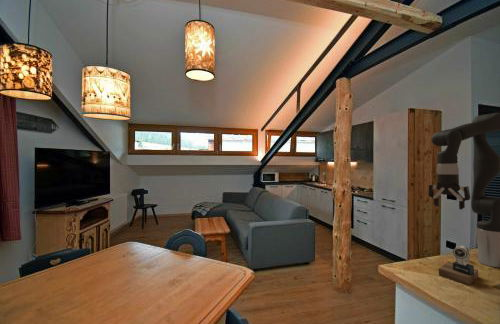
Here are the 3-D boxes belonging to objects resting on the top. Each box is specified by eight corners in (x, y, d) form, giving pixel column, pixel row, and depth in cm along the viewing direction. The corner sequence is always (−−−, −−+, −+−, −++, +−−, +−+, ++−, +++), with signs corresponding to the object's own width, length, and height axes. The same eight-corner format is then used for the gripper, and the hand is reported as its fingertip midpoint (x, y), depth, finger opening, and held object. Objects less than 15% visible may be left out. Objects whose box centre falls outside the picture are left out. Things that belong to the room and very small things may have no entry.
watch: (451, 271, 95) (450, 246, 95) (458, 266, 99) (458, 242, 99) (468, 276, 90) (467, 250, 90) (475, 271, 94) (474, 246, 94)
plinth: (448, 267, 104) (448, 261, 104) (478, 276, 95) (477, 270, 95) (438, 275, 98) (438, 268, 98) (469, 285, 89) (469, 278, 89)
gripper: (471, 173, 96) (472, 209, 96) (431, 172, 108) (433, 204, 108) (465, 174, 92) (467, 211, 92) (425, 173, 104) (426, 206, 104)
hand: (448, 207), depth 100 cm, fingers open, 8 cm apart
